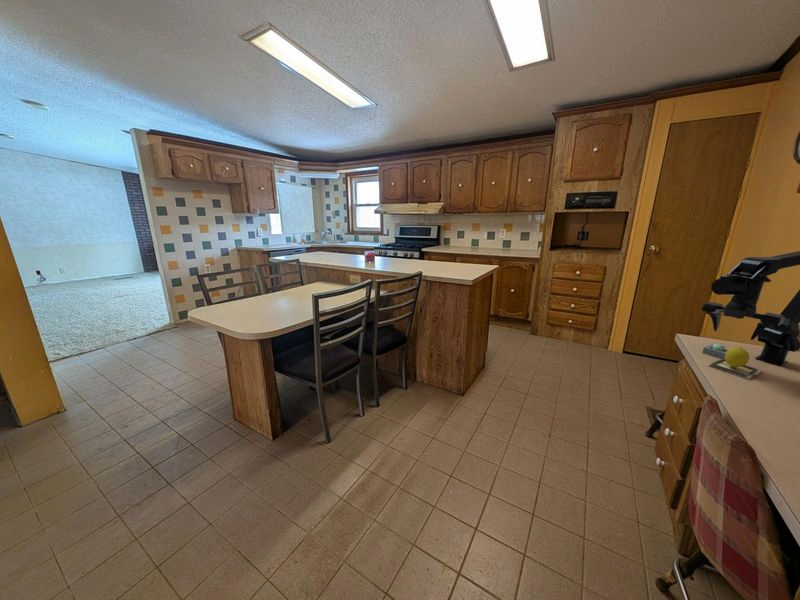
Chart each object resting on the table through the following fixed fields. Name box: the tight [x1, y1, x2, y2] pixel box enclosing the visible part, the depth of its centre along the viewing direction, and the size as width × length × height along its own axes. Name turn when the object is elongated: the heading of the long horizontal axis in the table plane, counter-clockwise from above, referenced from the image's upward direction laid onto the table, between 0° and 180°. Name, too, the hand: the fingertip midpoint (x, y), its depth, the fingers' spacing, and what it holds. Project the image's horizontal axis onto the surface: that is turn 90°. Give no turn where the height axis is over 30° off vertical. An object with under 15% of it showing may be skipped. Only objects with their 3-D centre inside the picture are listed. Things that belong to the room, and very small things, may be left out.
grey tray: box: [708, 358, 764, 381], centre depth 102 cm, size 11×10×1 cm
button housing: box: [702, 344, 730, 359], centre depth 113 cm, size 6×6×2 cm
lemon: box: [725, 346, 750, 368], centre depth 101 cm, size 6×6×8 cm
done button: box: [712, 343, 726, 352], centre depth 113 cm, size 3×3×3 cm
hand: (733, 335), depth 105 cm, fingers open, 9 cm apart
